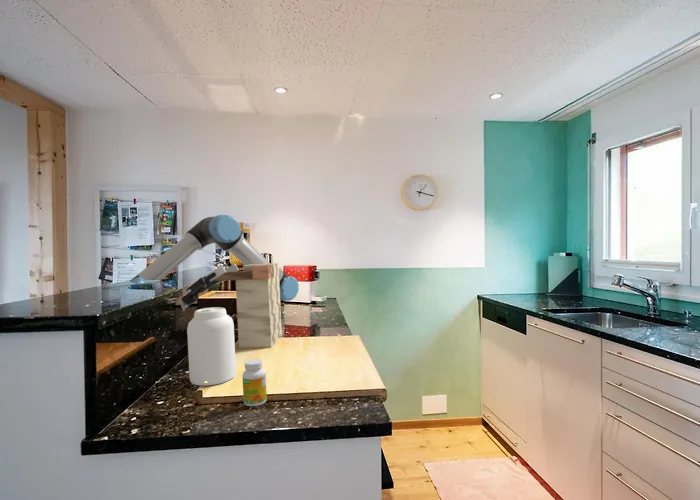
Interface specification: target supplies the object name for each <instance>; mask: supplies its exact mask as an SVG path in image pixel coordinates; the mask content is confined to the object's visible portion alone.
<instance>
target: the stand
mask: <svg viewBox="0 0 700 500" xmlns="http://www.w3.org/2000/svg"><path fill="white" fill-rule="evenodd" d="M256 265H272V271H273V278H271V279H260V280H253V279H251V280H235V290H236V291H235V293H236V313H237V314H236V315H237V332H238V333H237V335H238V336H237V337H238V349H264V348H265V349H266V348H267V349H269V348H272V347H273V346H274V345H275V344H276V343H277V342H278V341H279V339H280V338H281V337H282V336H283V331H282V329H283V328H282V319H281V309H282V307H281V300H280V284H279V269H280V265H279V262H278V263H277V262H276V263H275V262H274V263H270V264H249V265H244V264H243V265H242V271H252V266H256Z"/></svg>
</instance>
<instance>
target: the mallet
mask: <svg viewBox="0 0 700 500" xmlns="http://www.w3.org/2000/svg"><path fill="white" fill-rule="evenodd" d="M271 278H273V271H272V265H256V266H252V271H243V270H241V271H239V270H238V271H235V272H225V273H224V274H222V275H221V276H219V277H217V278H216V279H214V280H215V281H220V282H222V281H223V282H224V281H237V280H251V279H253V280H260V279H271Z"/></svg>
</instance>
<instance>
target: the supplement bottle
mask: <svg viewBox="0 0 700 500" xmlns="http://www.w3.org/2000/svg"><path fill="white" fill-rule="evenodd" d="M266 374H267V372H266V370H265V369H264V368H263V361H262V359H257V358H256V359H255V358H254V359H249V360H247V361H245V362H244V371H243V372H242V375H241V377H242V392H243V393H242V397H243V404H244V405H245V406H247V407H257V406H261V405H264V404H265V403H266V402H267V396H268V395H267V394H268V393H267V377H266Z"/></svg>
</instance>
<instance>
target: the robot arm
mask: <svg viewBox="0 0 700 500" xmlns="http://www.w3.org/2000/svg"><path fill="white" fill-rule="evenodd" d="M211 244H215V245H217V246H218V247H219V248H220V249H221V250H222V251H224V252H229V253H231V255H233V256H234V257H235V258H236V259H238V261H239V262H241V263H242V265H243V266H244V265H249V264H271V263H270V261H268V260H267V259H266V258H265V257H264V256H263V255H262V254H261V253H260V252H259V251H258V250H257V249H256V248H255V246H253V245H252V244H251V243H250V242H249V241H248V240H247V239H246V238H245V237H244V231H243V230H242V229H241V224H240V222H239V221H238V219H236V218H235V217H234V216H232V215H229V214H218V215H215V216H207V217H204V218H203V219H201V220H200V221H198V222H197V223H196V224H195V225H194V226H192V227H191V228H190V229H189V230H188V231H186V232H185V233H184V237H183V238H181V239H180V240H179V241H177V243H175V244H174V245H173V246H171V247H170V248H169V249H168V250H166V251H165V252H164V253H163V254H161V255H160V256H158V258H156V259H155V260H154V261H153V262H151V263H150V264H149V265H148V266H147V267H145V268H144V269H143V270H142V271H140V272H139V273H137V275H135V276H134V277H132V278H131V279H130V280H129V281H130V282H132V283H136V284H139V283H149V282H148V281H146V280H159V279H162V280H163V279H164V278H165V277H167V276H168V275H169V274H171V273H172V272H173V271H174V270H176V269H177V267H178V266H180V265H181V264H182V263H183V262H184V261H186V260H187V259H188V258H189V257H191V256H192V255H193V254H194V253H195V252H196V251H201V250H202V249H204V248H205V247H207V246H209V245H211ZM238 271H239V268H238V266H237V264H236V263H233V264H232V265H230V266H228V267H227V268H224V266H223V265H220V266H219V267H217V268H215V269H213V271H211V272H209V273H208V274H206V275H204V276H203V277H200V278H199V279H197V280H196V281H195V282H193V283H192V284H190V285H191V286H190V287H189V288H188V289H187V290H186V292H187V295H186V296H184V297H183V298H182V299H181V300H182V302H181V307H182V309H183V311H182V312H185V311H186V308H188V307H189V306H191V305H193V304H195V303H196V302H197V301H199V294H203V293H204V292H205V291H206V290H208V289H210V288H212V287H213V286H215V285H216V284H218V283H220V282H221V281H215V280H214V279H216V278H217V277H219V276H221V275H222V274H224V273H225V272H238ZM279 284H280V301H283V302H288V301H289V302H290V301H292V300H294V299H295V298H296V297H297V295H298V293H299V286H300V285H299V282H298V279H297V278H295V277H294V276H288V275H287V274H286V273H285V272H284V270H282V269H280V268H279ZM283 318H284V312H283V309H282V308H281V320H282V319H283Z"/></svg>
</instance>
